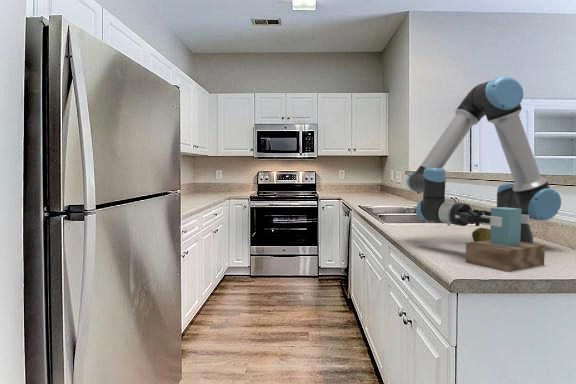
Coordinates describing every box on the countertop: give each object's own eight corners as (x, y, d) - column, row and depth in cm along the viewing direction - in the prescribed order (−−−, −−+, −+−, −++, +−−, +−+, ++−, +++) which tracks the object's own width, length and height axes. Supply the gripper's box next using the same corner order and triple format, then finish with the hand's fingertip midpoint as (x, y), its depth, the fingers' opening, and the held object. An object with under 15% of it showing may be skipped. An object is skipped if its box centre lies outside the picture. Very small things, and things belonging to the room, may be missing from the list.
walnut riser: (501, 256, 144) (502, 238, 143) (544, 264, 131) (544, 245, 131) (465, 262, 135) (466, 242, 134) (507, 271, 122) (508, 250, 122)
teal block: (501, 241, 137) (503, 207, 136) (520, 244, 132) (521, 208, 131) (489, 243, 134) (491, 207, 133) (508, 246, 129) (509, 209, 128)
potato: (509, 255, 146) (509, 231, 146) (469, 250, 154) (470, 228, 154) (514, 251, 153) (515, 229, 152) (475, 247, 161) (476, 225, 160)
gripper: (479, 222, 154) (538, 230, 136) (430, 227, 142) (488, 236, 124) (479, 201, 154) (539, 206, 136) (430, 204, 142) (489, 210, 123)
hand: (515, 220), depth 130 cm, fingers open, 13 cm apart
